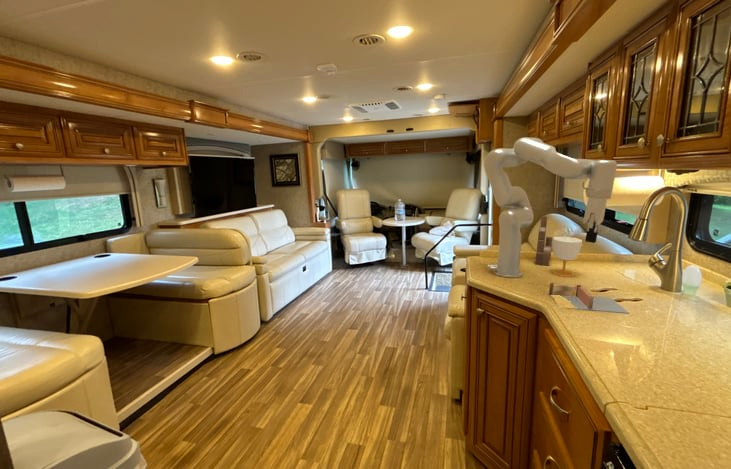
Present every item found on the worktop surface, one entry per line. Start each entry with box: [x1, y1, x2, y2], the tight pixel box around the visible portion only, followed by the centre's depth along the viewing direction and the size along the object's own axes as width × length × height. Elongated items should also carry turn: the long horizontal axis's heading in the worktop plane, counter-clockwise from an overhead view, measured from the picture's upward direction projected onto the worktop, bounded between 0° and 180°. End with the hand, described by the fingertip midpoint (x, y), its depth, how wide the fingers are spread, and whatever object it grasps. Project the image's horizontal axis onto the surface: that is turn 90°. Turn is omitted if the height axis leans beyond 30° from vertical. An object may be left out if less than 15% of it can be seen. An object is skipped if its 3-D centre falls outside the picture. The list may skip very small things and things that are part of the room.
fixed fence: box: [548, 282, 582, 297], centre depth 131 cm, size 11×1×5 cm, turn 76°
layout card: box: [562, 294, 630, 314], centre depth 125 cm, size 22×14×1 cm, turn 76°
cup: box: [552, 236, 583, 278], centre depth 157 cm, size 12×12×17 cm
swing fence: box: [577, 286, 594, 308], centre depth 123 cm, size 11×1×4 cm, turn 167°
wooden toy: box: [534, 215, 554, 267], centre depth 176 cm, size 16×7×25 cm, turn 149°
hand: (590, 241), depth 127 cm, fingers closed
